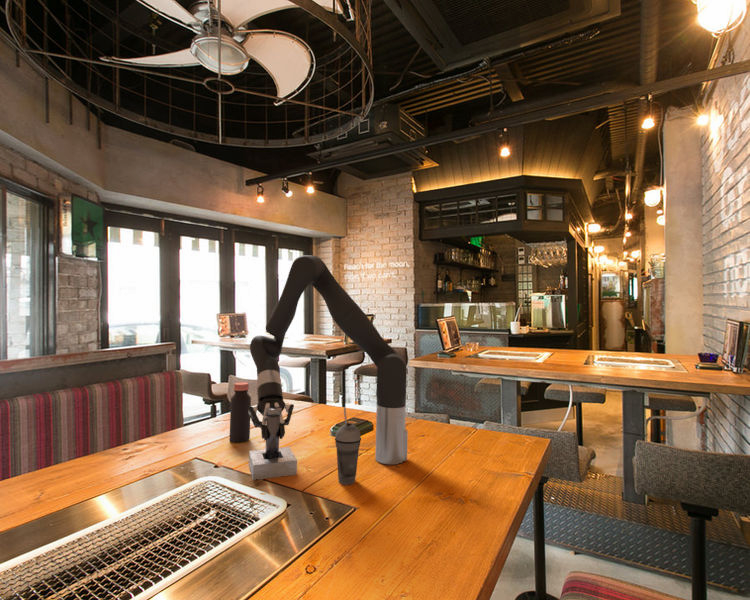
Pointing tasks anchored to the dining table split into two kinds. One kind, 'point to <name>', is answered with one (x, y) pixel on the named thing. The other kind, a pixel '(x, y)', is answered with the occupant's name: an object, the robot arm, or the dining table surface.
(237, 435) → the bottle
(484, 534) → the dining table surface
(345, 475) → the beverage cup
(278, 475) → the block
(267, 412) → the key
